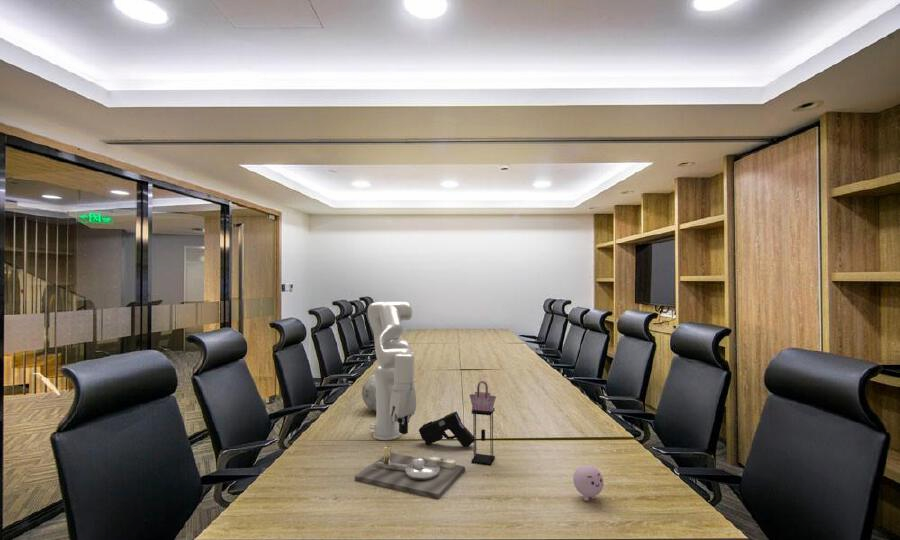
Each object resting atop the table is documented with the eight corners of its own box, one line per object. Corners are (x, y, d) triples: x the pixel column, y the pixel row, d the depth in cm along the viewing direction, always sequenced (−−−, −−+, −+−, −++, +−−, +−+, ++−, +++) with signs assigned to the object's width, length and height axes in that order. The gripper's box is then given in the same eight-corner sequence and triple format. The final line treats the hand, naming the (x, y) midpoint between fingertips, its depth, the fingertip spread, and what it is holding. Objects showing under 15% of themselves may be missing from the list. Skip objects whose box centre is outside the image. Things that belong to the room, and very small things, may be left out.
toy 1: (475, 445, 174) (459, 410, 176) (432, 463, 177) (417, 429, 179) (477, 440, 179) (462, 407, 181) (435, 458, 182) (420, 424, 184)
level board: (354, 480, 148) (354, 468, 148) (389, 456, 168) (389, 446, 168) (438, 498, 135) (438, 486, 135) (465, 470, 155) (464, 459, 155)
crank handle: (444, 467, 154) (444, 446, 154) (432, 482, 142) (432, 460, 143) (385, 459, 161) (385, 440, 161) (370, 473, 149) (370, 452, 150)
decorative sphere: (381, 403, 241) (381, 367, 242) (407, 409, 230) (407, 371, 230) (354, 412, 225) (354, 373, 226) (381, 419, 214) (381, 378, 214)
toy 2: (587, 508, 129) (586, 474, 129) (567, 495, 137) (567, 463, 137) (609, 502, 132) (609, 469, 133) (589, 489, 141) (589, 458, 141)
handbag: (498, 458, 166) (498, 379, 166) (494, 466, 159) (493, 384, 159) (472, 454, 169) (472, 378, 170) (467, 462, 162) (466, 382, 163)
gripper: (410, 379, 172) (410, 424, 172) (382, 387, 160) (381, 436, 161) (424, 383, 167) (423, 429, 167) (396, 392, 155) (395, 442, 156)
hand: (403, 432), depth 164 cm, fingers closed
